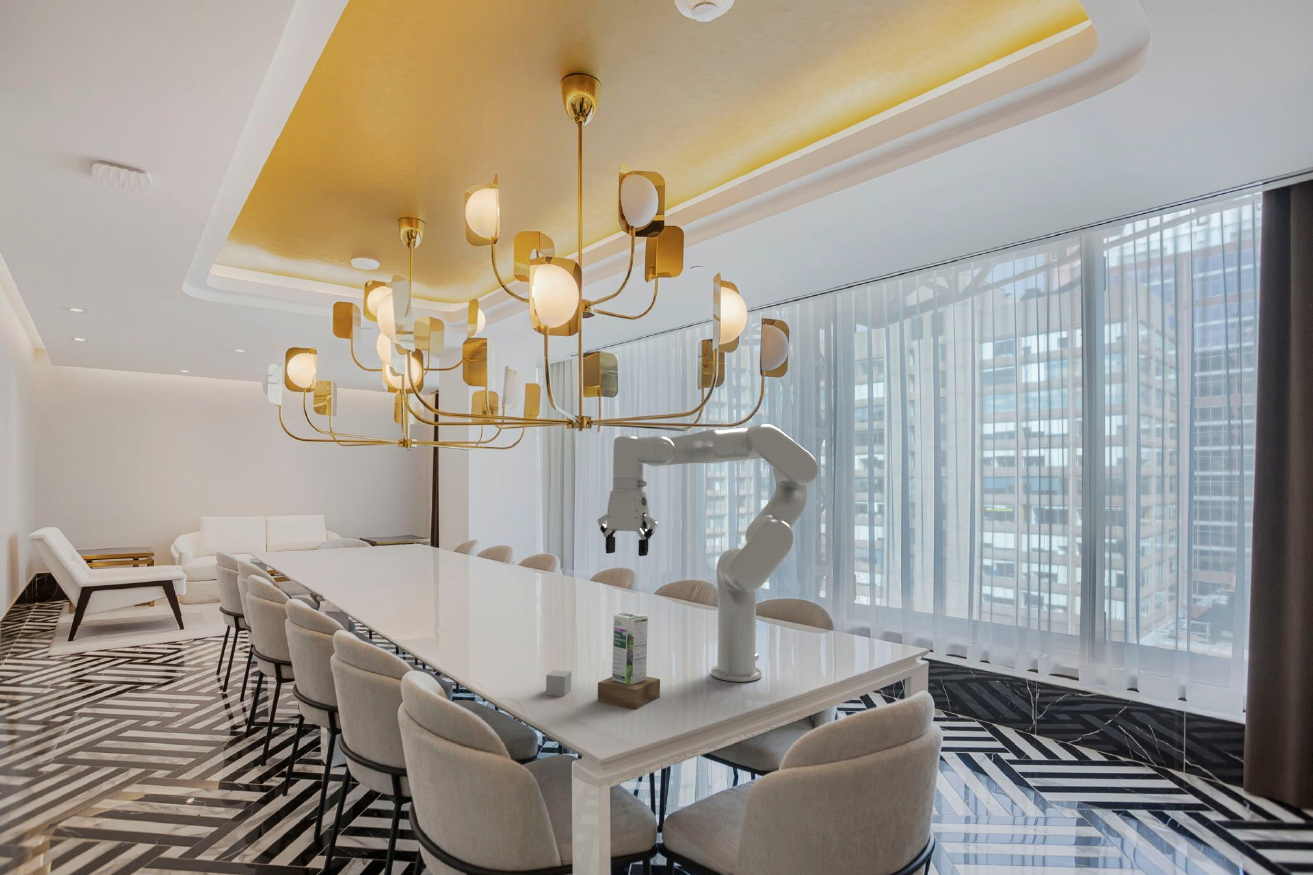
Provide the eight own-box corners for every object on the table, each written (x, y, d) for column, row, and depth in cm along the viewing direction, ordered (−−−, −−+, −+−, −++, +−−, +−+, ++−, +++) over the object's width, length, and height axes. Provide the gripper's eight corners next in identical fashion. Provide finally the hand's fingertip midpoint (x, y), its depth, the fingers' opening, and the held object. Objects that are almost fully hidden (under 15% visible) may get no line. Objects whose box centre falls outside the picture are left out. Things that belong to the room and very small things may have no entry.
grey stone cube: (552, 689, 161) (553, 670, 161) (570, 690, 160) (571, 671, 160) (545, 695, 156) (546, 675, 157) (564, 696, 155) (564, 676, 156)
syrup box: (610, 680, 154) (612, 614, 155) (629, 675, 159) (630, 611, 159) (629, 686, 150) (630, 618, 151) (647, 680, 155) (648, 614, 156)
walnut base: (622, 689, 161) (623, 672, 161) (659, 697, 156) (659, 679, 156) (597, 701, 152) (597, 682, 153) (635, 709, 147) (636, 690, 147)
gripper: (665, 486, 172) (664, 555, 171) (607, 485, 181) (606, 550, 180) (649, 486, 165) (648, 558, 164) (590, 484, 174) (589, 553, 173)
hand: (626, 554), depth 172 cm, fingers open, 9 cm apart
